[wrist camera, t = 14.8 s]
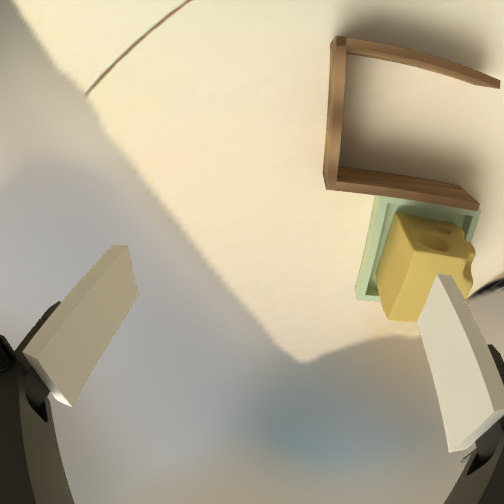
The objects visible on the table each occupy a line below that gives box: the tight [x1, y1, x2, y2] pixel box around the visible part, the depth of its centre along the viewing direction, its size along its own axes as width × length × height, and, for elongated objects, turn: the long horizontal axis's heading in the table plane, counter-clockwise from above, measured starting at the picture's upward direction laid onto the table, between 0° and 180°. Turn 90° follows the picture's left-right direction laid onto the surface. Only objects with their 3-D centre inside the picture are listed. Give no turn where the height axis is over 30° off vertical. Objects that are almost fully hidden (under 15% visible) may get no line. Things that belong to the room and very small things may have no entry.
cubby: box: [323, 36, 500, 211], centre depth 28 cm, size 16×19×6 cm
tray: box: [355, 195, 480, 302], centre depth 38 cm, size 16×15×2 cm
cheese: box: [375, 212, 475, 322], centre depth 34 cm, size 10×11×10 cm
